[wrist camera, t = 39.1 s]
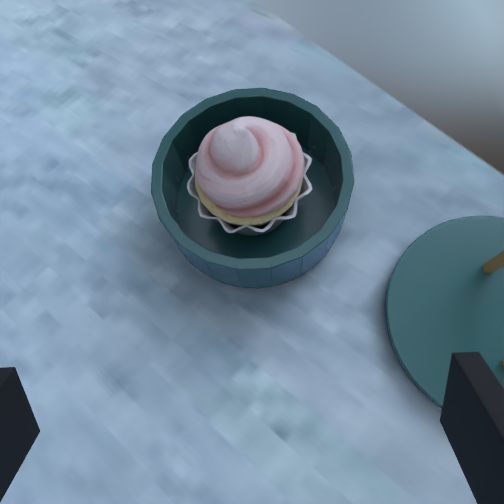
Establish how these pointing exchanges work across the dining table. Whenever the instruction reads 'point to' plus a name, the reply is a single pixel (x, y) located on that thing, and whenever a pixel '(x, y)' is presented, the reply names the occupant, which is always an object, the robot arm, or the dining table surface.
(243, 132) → the cupcake
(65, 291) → the dining table surface
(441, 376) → the tin lid
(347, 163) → the tin
